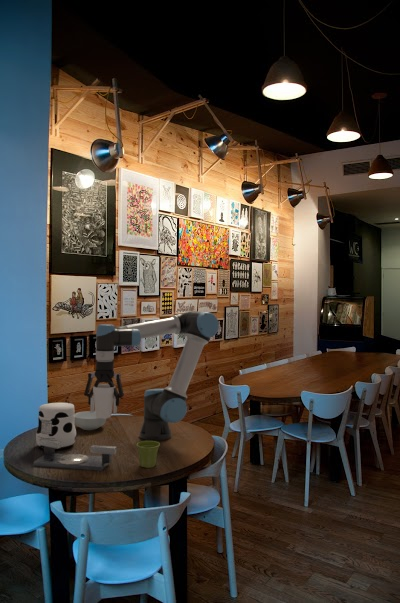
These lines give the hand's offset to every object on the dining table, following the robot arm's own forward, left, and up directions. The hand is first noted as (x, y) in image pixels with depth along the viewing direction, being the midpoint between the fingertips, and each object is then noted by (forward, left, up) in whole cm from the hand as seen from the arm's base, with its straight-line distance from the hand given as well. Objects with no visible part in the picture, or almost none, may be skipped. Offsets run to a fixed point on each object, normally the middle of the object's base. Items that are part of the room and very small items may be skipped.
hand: (103, 412), depth 210 cm
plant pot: (-22, +11, -18) cm, 30 cm away
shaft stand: (+8, +14, -18) cm, 24 cm away
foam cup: (0, 0, -2) cm, 2 cm away
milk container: (+24, -6, -18) cm, 30 cm away
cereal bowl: (+20, -38, -18) cm, 47 cm away
